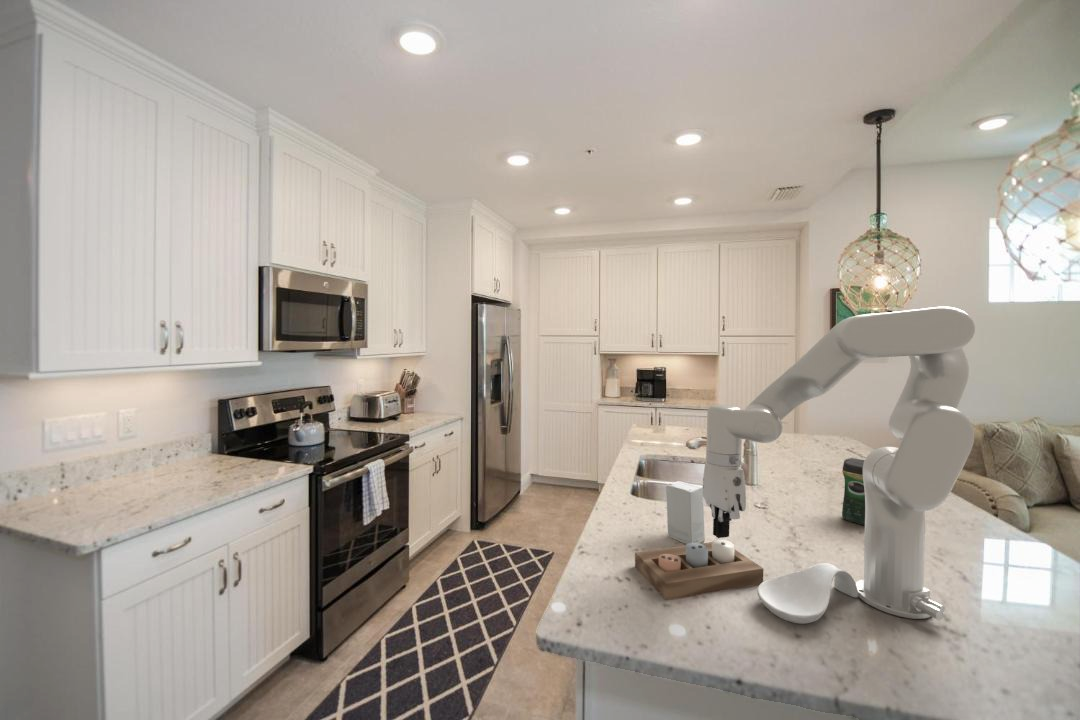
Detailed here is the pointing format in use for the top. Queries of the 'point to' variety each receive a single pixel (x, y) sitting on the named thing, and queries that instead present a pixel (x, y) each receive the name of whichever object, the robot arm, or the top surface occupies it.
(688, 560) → the two-pip button
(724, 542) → the one-pip button
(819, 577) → the spoon rest
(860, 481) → the coffee jar
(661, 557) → the three-pip button
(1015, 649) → the top surface
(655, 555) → the wooden three-slot caddy
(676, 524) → the skincare box
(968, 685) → the top surface
